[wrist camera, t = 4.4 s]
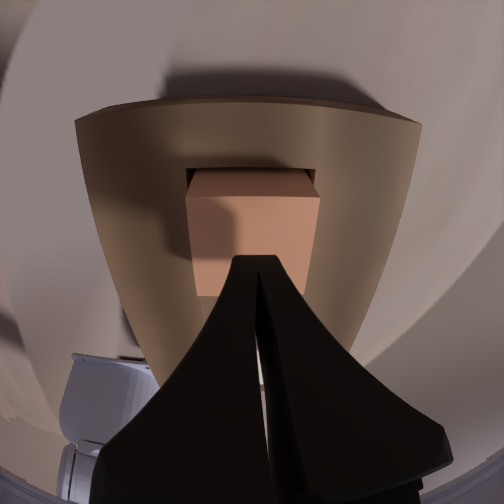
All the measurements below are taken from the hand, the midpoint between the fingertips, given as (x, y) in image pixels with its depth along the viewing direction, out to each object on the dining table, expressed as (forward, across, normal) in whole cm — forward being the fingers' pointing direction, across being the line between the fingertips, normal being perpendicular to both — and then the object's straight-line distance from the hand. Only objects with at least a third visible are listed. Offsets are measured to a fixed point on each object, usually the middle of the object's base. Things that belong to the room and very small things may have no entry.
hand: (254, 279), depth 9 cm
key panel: (+7, 0, +5) cm, 9 cm away
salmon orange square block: (+5, 0, 0) cm, 5 cm away
